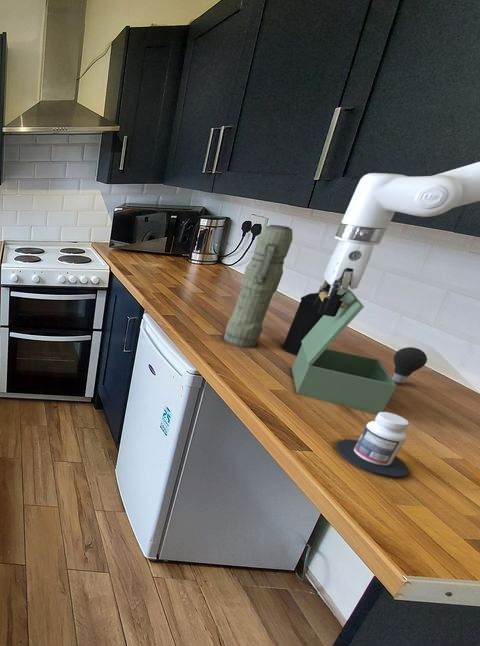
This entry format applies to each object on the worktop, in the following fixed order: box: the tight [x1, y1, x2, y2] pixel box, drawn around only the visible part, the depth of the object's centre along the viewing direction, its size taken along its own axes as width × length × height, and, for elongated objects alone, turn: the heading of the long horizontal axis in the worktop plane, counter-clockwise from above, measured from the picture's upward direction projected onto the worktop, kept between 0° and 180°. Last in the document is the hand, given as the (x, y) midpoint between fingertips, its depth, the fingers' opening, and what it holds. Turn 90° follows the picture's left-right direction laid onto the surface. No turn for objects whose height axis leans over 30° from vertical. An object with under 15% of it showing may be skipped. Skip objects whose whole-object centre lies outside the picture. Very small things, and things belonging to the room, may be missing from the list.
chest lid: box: [301, 288, 365, 365], centre depth 96 cm, size 16×15×6 cm
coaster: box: [335, 439, 409, 479], centre depth 75 cm, size 10×10×1 cm
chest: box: [291, 345, 397, 415], centre depth 97 cm, size 15×15×8 cm
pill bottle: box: [354, 411, 409, 466], centre depth 74 cm, size 5×5×9 cm
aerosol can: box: [281, 285, 323, 356], centre depth 115 cm, size 8×8×20 cm
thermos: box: [223, 224, 294, 349], centre depth 117 cm, size 9×12×35 cm
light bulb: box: [391, 346, 428, 385], centre depth 101 cm, size 6×6×10 cm
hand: (324, 310), depth 95 cm, fingers closed on chest lid, 6 cm apart
